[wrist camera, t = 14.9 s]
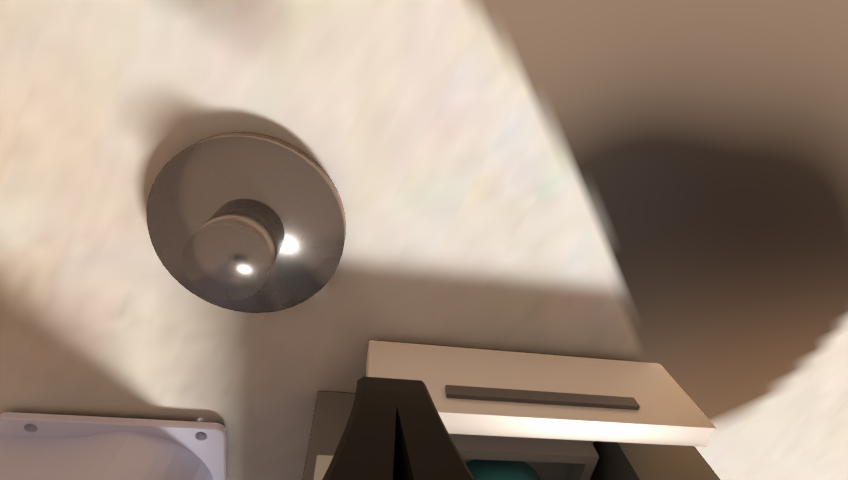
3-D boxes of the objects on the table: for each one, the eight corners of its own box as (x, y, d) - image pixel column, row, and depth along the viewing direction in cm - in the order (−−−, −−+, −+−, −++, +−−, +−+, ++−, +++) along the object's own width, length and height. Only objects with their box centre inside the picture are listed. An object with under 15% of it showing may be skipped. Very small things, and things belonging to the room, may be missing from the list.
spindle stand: (162, 293, 18) (116, 347, 15) (150, 118, 15) (90, 137, 12) (337, 309, 19) (329, 362, 16) (354, 147, 16) (348, 172, 13)
